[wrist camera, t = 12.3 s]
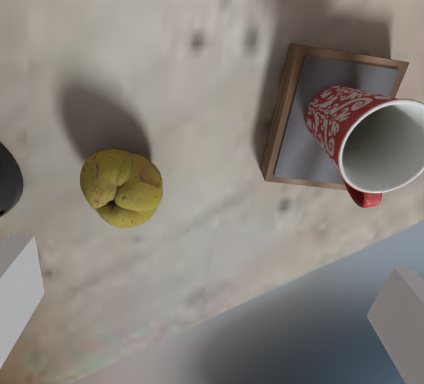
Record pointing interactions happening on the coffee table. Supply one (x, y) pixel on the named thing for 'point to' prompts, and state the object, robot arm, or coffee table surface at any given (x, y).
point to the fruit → (121, 187)
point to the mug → (369, 139)
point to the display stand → (299, 101)
